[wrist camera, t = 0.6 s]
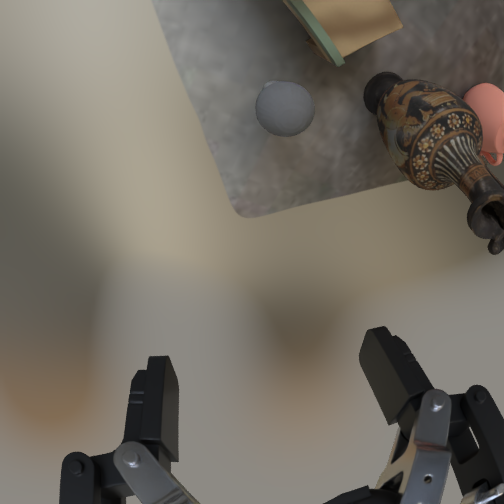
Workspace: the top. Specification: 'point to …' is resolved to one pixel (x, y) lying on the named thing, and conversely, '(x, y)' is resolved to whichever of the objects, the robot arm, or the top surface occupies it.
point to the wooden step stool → (343, 24)
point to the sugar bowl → (489, 118)
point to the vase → (438, 146)
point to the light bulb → (284, 108)
